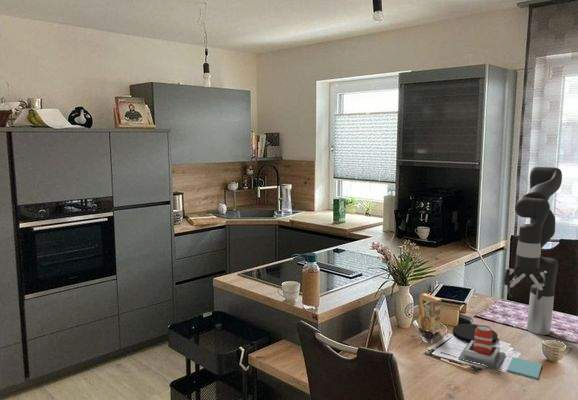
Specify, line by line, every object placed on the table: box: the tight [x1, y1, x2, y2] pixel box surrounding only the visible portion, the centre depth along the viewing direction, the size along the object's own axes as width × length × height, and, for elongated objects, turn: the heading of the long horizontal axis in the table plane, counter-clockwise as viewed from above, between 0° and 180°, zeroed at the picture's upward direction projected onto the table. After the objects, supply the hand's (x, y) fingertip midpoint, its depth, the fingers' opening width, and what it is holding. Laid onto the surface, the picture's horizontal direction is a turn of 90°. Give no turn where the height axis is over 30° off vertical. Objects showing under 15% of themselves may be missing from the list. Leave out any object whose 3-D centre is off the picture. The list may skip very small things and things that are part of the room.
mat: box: [506, 356, 543, 380], centre depth 175 cm, size 12×10×1 cm
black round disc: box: [452, 323, 498, 345], centre depth 203 cm, size 18×18×2 cm
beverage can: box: [473, 324, 493, 356], centre depth 182 cm, size 6×6×12 cm
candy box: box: [417, 293, 442, 333], centre depth 207 cm, size 9×4×15 cm, turn 33°
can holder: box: [458, 340, 506, 371], centre depth 183 cm, size 14×14×4 cm
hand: (524, 298), depth 169 cm, fingers open, 8 cm apart
